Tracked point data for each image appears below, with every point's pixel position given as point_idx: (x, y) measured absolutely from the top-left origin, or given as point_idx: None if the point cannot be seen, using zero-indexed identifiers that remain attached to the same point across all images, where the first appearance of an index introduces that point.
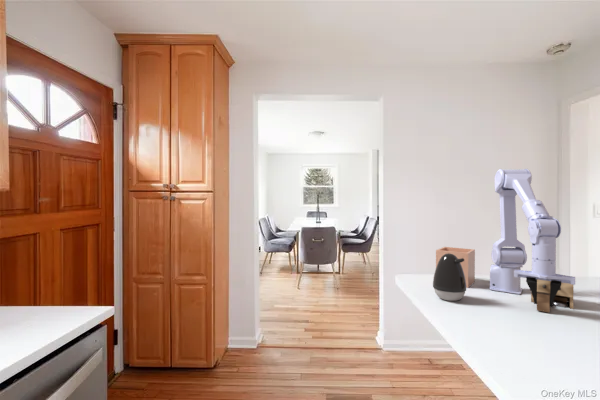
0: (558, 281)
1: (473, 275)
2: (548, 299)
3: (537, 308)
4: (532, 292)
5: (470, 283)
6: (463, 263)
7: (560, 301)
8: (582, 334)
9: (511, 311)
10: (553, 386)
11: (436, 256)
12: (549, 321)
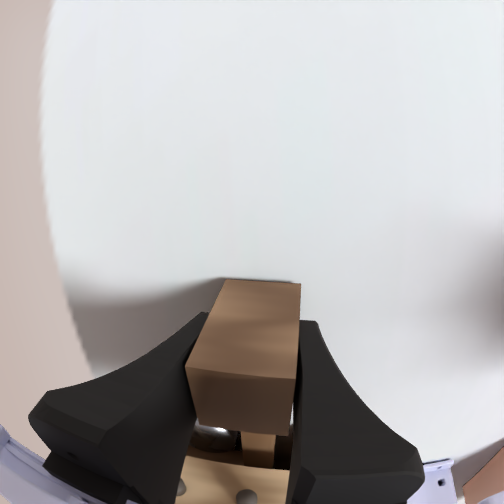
0: (60, 475)
1: (476, 498)
2: (205, 340)
3: (296, 292)
4: (337, 379)
5: (498, 460)
6: None
7: (202, 445)
8: (79, 10)
9: (452, 177)
10: None
11: None
12: (215, 90)
